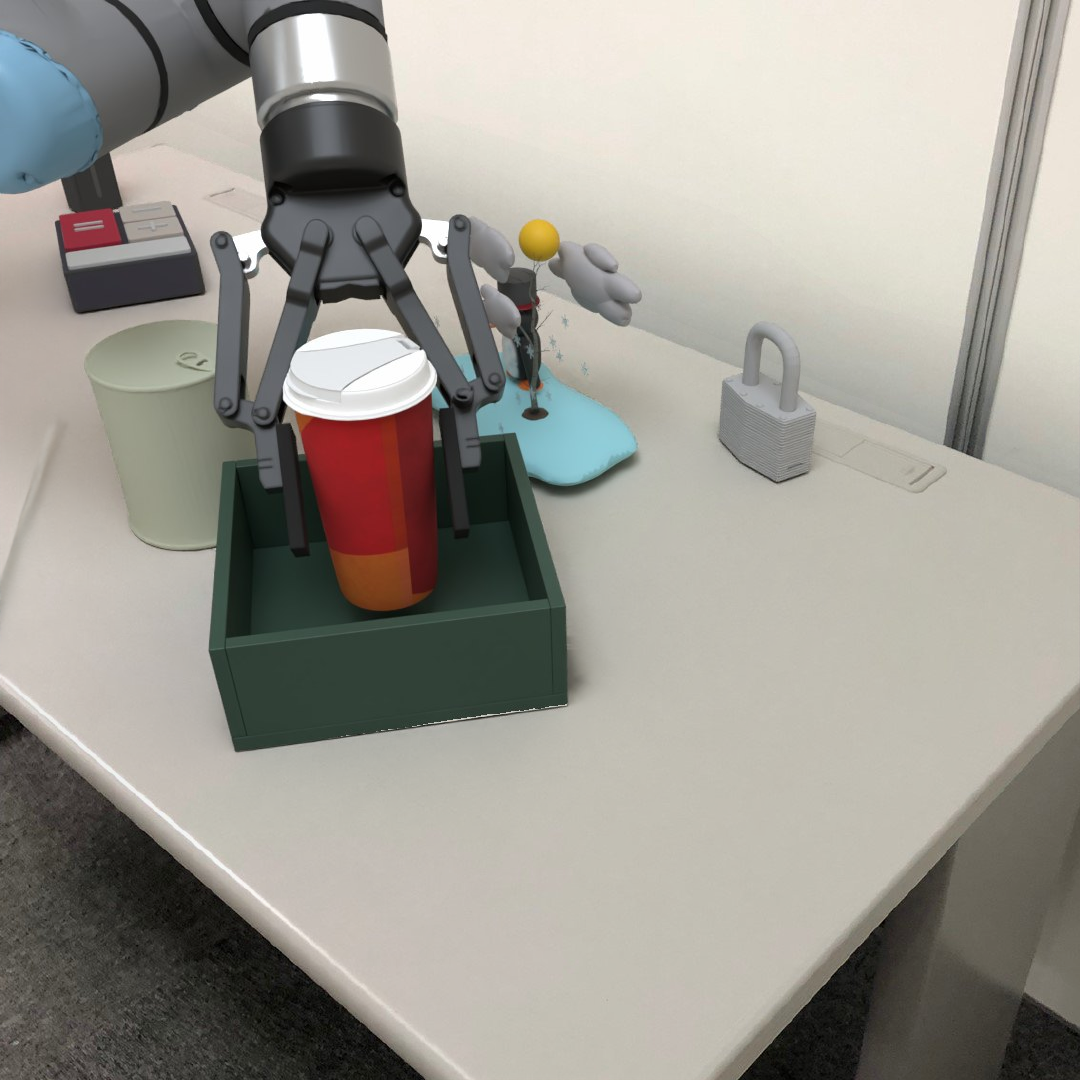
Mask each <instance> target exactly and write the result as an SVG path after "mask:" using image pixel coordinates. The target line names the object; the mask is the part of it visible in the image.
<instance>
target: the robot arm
mask: <svg viewBox="0 0 1080 1080" xmlns="http://www.w3.org/2000/svg"><path fill="white" fill-rule="evenodd" d="M388 38H389V37H388V34H387V33H386V25H385V16H384V8H383V0H0V195H19V194H25V193H28V192H32V191H35V190H37V189H40V188H43V187H46V186H47V185H49V184H52V183H55V182H57V181H59V180H61V178H68V177H70V176H71V175H73V174H75V173H77V172H83V171H84V170H86V169H87V168H89V167H90V166H91V165H92V164H93V163H94V162H95V161H96V160H97V159H98V158H100V157H102V156H103V155H105V154H107V153H109V152H110V153H111V152H112V151H114V150H116V149H118V148H120V147H121V146H123V145H125V144H127V143H128V142H130V141H133V140H135V139H136V138H138V137H140V136H143V135H145V134H146V133H148V132H150V131H153V130H154V129H157V128H158V127H160V126H162V125H164V124H166V123H168V122H170V121H171V120H173V119H177V118H178V117H179V116H182V115H183V114H185V113H187V112H192V111H193V110H194V109H196V108H197V107H198V106H199V105H200V104H203V103H204V102H206V101H209V100H210V99H213V98H214V97H216V96H218V95H220V94H222V93H224V92H226V91H228V90H230V89H232V88H233V87H235V86H238V85H239V84H241V83H243V82H245V81H246V80H248V79H250V78H251V82H252V91H253V99H254V106H255V113H256V114H255V115H256V122H257V125H258V127H259V129H260V131H261V132H260V135H259V146H260V153H261V154H260V156H261V163H262V173H263V179H264V188H265V198H266V208H267V209H266V213H265V216H264V218H263V221H262V222H261V225H260V229H258V230H254V231H251V232H250V231H249V232H247V233H243V234H239V235H236V236H232V235H231V234H230V233H229V232H227V231H225V230H218V231H216V232H214V233H213V234H212V235H211V236H210V238H209V246H210V248H211V251H212V255H213V258H214V261H215V263H216V266H217V269H218V272H219V289H218V308H217V309H218V311H217V324H218V326H217V345H216V364H215V383H214V402H213V404H214V409H215V411H216V413H217V414H218V416H219V417H220V419H221V421H222V422H223V424H224V425H225V426H227V427H229V428H241V429H245V430H248V431H251V432H252V433H253V434H254V436H255V444H256V453H257V461H258V470H259V479H260V481H261V483H262V485H263V487H264V488H265V490H266V492H267V493H268V495H269V494H278V493H283V494H284V502H285V511H286V519H287V528H288V536H289V545H290V550H291V551H292V553H293V554H294V556H295V557H296V558H297V557H306V556H310V551H309V542H308V534H307V526H306V517H305V509H304V500H303V492H302V484H301V475H300V467H299V458H298V454H299V449H298V443H297V442H298V441H297V436H296V434H295V431H294V429H293V426H292V423H291V422H286V423H284V418H285V415H286V412H287V409H288V407H289V406H288V405H287V404H286V403H285V402H284V400H283V385H284V381H285V378H286V377H287V373H288V372H289V369H290V367H291V366H290V363H291V360H292V358H293V356H294V354H295V352H296V351H297V350H298V349H299V348H300V347H302V346H303V345H304V344H306V343H308V342H309V341H308V340H309V337H310V334H311V331H312V329H313V324H314V323H315V322H316V320H317V317H318V314H319V311H320V307H321V304H323V305H326V304H327V305H329V304H337V303H339V302H343V301H346V300H350V299H356V300H361V301H376V300H382V299H383V301H384V303H385V305H386V307H387V308H388V310H389V311H390V313H391V314H392V316H394V317H395V318H396V321H397V322H398V324H399V325H400V327H401V329H402V330H403V332H404V334H405V337H406V338H409V339H410V340H411V341H413V342H414V343H415V344H417V345H418V346H419V347H420V348H419V350H424V351H425V353H426V356H427V359H428V360H429V361H430V362H431V364H432V365H433V367H434V368H435V370H436V374H437V382H436V387H437V388H438V390H439V392H440V393H441V395H442V397H443V398H444V400H445V402H446V404H447V405H448V407H449V408H439V411H438V427H439V432H440V440H441V443H442V450H443V458H444V465H445V473H446V480H447V488H448V496H449V503H450V511H451V518H452V526H453V533H454V539H462V538H468V536H469V531H470V525H469V518H468V510H467V503H466V495H465V488H464V480H463V474H468V473H477V472H478V471H479V467H480V463H481V458H482V455H481V447H480V440H479V432H478V425H477V418H476V413H477V411H478V410H479V409H480V408H482V407H484V406H486V405H488V404H490V403H496V402H499V401H500V400H501V399H502V396H503V393H504V389H505V384H506V376H505V373H504V369H503V366H502V363H501V360H500V356H499V353H500V352H499V349H498V347H497V343H496V340H495V337H494V333H493V330H492V328H491V326H490V323H489V320H488V317H487V313H486V310H485V307H484V303H483V300H484V299H483V297H482V295H481V292H480V287H479V284H478V281H477V277H476V274H475V270H474V266H473V264H472V261H471V260H470V257H469V250H470V236H471V222H470V220H469V219H468V218H469V217H467V216H466V215H465V214H461V213H459V214H455V215H452V216H451V218H450V219H449V220H447V221H445V220H439V219H437V220H436V219H429V218H422V217H421V214H420V212H419V211H418V210H417V208H416V207H415V206H414V204H413V202H412V200H411V197H410V194H409V193H410V192H409V186H408V185H409V184H408V177H407V170H406V161H405V155H404V147H403V139H402V133H401V130H400V127H399V126H398V125H397V123H398V121H399V110H398V102H397V101H398V100H397V95H396V86H395V78H394V71H393V63H392V55H391V50H390V48H389V47H390V46H389V43H388V42H389V41H388V40H389V39H388ZM420 244H424V245H425V246H427V247H428V248H429V249H430V251H431V256H432V258H433V259H434V261H435V262H436V263H438V264H441V265H446V267H445V269H446V271H445V273H446V280H447V284H448V288H449V291H450V294H451V298H452V301H453V305H454V308H455V312H456V314H457V317H458V322H459V324H460V328H461V331H462V334H463V337H464V341H465V344H466V347H467V348H466V349H467V350H468V354H470V358H471V361H472V364H473V368H474V371H475V374H476V379H474V380H472V381H470V382H468V381H467V379H466V377H465V376H464V374H463V372H462V370H461V369H460V367H459V365H458V364H457V362H456V360H455V359H454V355H453V354H452V352H451V350H450V348H449V346H448V344H446V342H445V340H444V338H443V336H442V335H441V333H440V332H439V329H438V327H437V325H436V324H435V322H434V321H433V319H432V318H431V316H430V314H429V312H428V311H427V309H426V308H425V306H424V304H423V302H422V301H421V299H420V297H419V296H418V294H417V292H416V291H415V289H414V286H413V283H412V281H411V279H410V277H409V275H408V274H407V272H406V270H405V269H406V268H407V266H408V264H409V263H410V260H411V259H412V257H413V256H414V254H415V252H416V250H417V249H418V247H419V246H420ZM266 255H269V256H270V257H271V258H272V260H273V261H274V262H275V263H276V264H277V265H278V266H279V267H280V268H281V269H282V270H283V271H284V272H285V273H286V274H287V275H288V276H289V277H290V278H289V282H288V284H287V288H286V295H285V301H284V304H283V308H282V311H281V313H280V317H279V321H278V324H277V327H276V330H275V334H274V337H273V340H272V344H271V346H270V348H269V349H270V350H269V353H268V356H267V360H266V363H265V365H264V369H263V372H262V375H261V379H260V382H259V384H258V388H257V391H256V394H255V398H254V401H251V400H250V401H248V400H246V381H247V377H248V361H249V357H248V356H249V337H250V320H251V319H250V318H251V290H250V285H249V280H252V279H255V278H256V277H257V275H258V274H259V271H260V262H261V260H262V258H263V257H264V256H266ZM381 298H382V299H381Z"/></svg>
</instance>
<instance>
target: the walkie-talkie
mask: <svg viewBox="0 0 1080 1080" xmlns="http://www.w3.org/2000/svg"><path fill="white" fill-rule="evenodd" d="M60 182H61V185H62V189H63V193H64V196H65V199H66V203H67V206H68V208H69V209H70V210H71V211H74V212H75V213H79V212H86V211H94V210H101V209H112V210H113V211H114V210H116V209H119V207H123V199H122V196H121V191H120V187H119V184H118V183H119V182H118V180H117V176H116V172H115V168H114V163H113V161H112V157H111V152H109V153H107V154H105V155H103V156H102V157H100V158H98V159H97V160H96V161H95V162H94V163H93V164H92V165H91V166H90V167H89V168H87V169H86V170H84V171H83V172H77V173H75V174H73V175H71V176H70V177H68V178H61V179H60Z"/></svg>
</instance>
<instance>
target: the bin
mask: <svg viewBox="0 0 1080 1080" xmlns="http://www.w3.org/2000/svg"><path fill="white" fill-rule="evenodd" d="M479 440H480V447H481V455H482V458H481V463H480V467H479V471H478V472H477V473H468V474H463V480H464V488H465V495H466V503H467V510H468V518H469V525H470V531H469V536H468V538H462V539H454V533H453V526H452V518H451V511H450V503H449V496H448V488H447V480H446V473H445V465H444V458H443V450H442V443H441V439H437V440H434V462H435V487H436V512H437V542H438V578H437V583H436V586H435V588H434V589H433V591H432V592H431V593H430V594H429V595H428V596H427V597H426V598H424V599H423V600H421V601H420V602H418V603H416V604H413V605H411V606H408V607H405V608H402V609H397V610H389V611H375V610H368V609H364V608H361V607H358V606H356V605H354V604H352V603H351V602H349V601H348V600H347V599H346V598H345V597H344V595H343V593H342V591H341V589H340V585H339V582H338V579H337V576H336V572H335V569H334V565H333V561H332V557H331V554H330V550H329V546H328V542H327V538H326V534H325V531H324V527H323V523H322V519H321V515H320V511H319V507H318V503H317V499H316V495H315V491H314V487H313V483H312V479H311V475H310V471H309V467H308V463H307V459H306V455H305V453H298V458H299V467H300V475H301V484H302V492H303V500H304V509H305V517H306V526H307V534H308V542H309V551H310V556H306V557H297V558H296V557H295V556H294V554H293V553H292V551H291V550H290V545H289V536H288V528H287V519H286V511H285V502H284V494H283V493H278V494H269V495H268V493H267V492H266V490H265V488H264V487H263V485H262V483H261V481H260V479H259V470H258V461H257V458H256V459H246V460H237V461H227V462H223V463H222V477H221V490H220V503H219V517H218V530H217V543H216V546H215V558H214V560H215V561H214V570H213V571H214V572H213V582H212V583H213V585H212V598H211V609H210V611H211V613H210V625H209V637H208V650H207V651H208V654H209V658H210V662H211V665H212V669H213V673H214V677H215V681H216V685H217V688H218V692H219V696H220V700H221V704H222V708H223V712H224V716H225V719H226V723H227V726H228V727H227V728H228V731H229V734H230V737H231V743H232V746H233V750H234V751H235V752H237V753H238V752H243V751H244V752H245V751H252V750H258V749H266V748H274V747H281V746H288V745H295V744H302V743H308V742H309V741H310V742H317V741H322V740H321V739H325V740H330V739H329V738H332V739H338V738H337V737H339V738H342V737H341V736H346V735H354V736H358V735H357V734H361V735H364V734H363V733H368V734H373V733H372V732H375V733H377V732H376V731H381V730H388V729H397V728H405V727H412V726H417V725H423V724H428V723H434V722H441V721H447V720H453V719H461V718H467V717H476V716H481V715H487V714H500V713H506V712H511V711H519V710H520V711H524V710H529V709H533V708H535V709H541V708H545V707H549V706H558V705H565V704H567V703H568V704H569V694H568V692H569V691H568V690H569V689H568V686H569V685H568V684H569V683H568V642H567V641H568V639H567V638H568V637H567V636H568V635H567V605H566V601H565V598H564V594H563V590H562V588H561V584H560V581H559V577H558V574H557V570H556V567H555V563H554V560H553V556H552V552H551V549H550V546H549V542H548V540H547V536H546V532H545V529H544V526H543V521H542V519H541V515H540V511H539V508H538V505H537V501H536V498H535V494H534V491H533V487H532V484H531V481H530V477H529V476H528V474H527V470H526V467H525V463H524V460H523V456H522V453H521V449H520V446H519V443H518V439H517V436H516V433H505V434H496V435H486V436H479ZM412 728H413V727H412ZM405 729H406V728H405ZM397 730H398V729H397ZM346 737H347V736H346ZM310 742H309V743H310Z"/></svg>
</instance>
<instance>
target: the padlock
mask: <svg viewBox="0 0 1080 1080" xmlns="http://www.w3.org/2000/svg"><path fill="white" fill-rule="evenodd" d="M765 339H767V340H769V341H771V342H772V343H773V344H774V345H775V346H776V347H777V349H778V350H779V352H780V354H781V357H782V379H781V380H782V381H780V380H777V379H775V378H773V377H771V376H770V375H768V374H766V373H763V372H762V371H760V368H761V357H762V350H763V349H762V347H763V344H764V340H765ZM800 355H801V354H800V351H799V348H798V345H797V343H796V341H795V339H794V337H793V336H792V335H791V334H789V332H788V331H787V330H786V329H784V328H783V327H782V326H781V325H779V324H777V323H775V322H771V321H766V320H761V321H758V322H757V323H754V324H753V325H752V326H751V327H750V329H749V331H748V333H747V336H746V341H745V347H744V357H743V358H744V359H743V368H742V369H743V372H741V373H737V374H734V375H731V376H728V377H724V378H723V379H722V381H721V395H720V409H719V424H718V436H717V437H718V439H719V440H720V442H722V443H723V444H724V446H725V447H727V449H729V451H730V452H731V453H732V454H733V455H734V457H735V458H736V459H737V460H738V461H739V462H741V463H742V464H744V465H745V466H748V467H750V468H751V469H753V470H755V471H757V472H758V473H760V474H762V475H764V476H765V477H767V478H769V479H771V480H772V481H773V482H776V483H779V482H782V481H784V480H788V479H791V478H793V477H796V476H799V475H801V474H804V473H807V472H809V471H810V468H811V467H810V466H811V460H812V459H811V458H812V452H813V446H814V443H813V442H814V437H815V428H816V427H815V426H816V422H817V410H816V409H815V408H814V407H813V406H812V405H811V404H810V403H809V402H808V401H806V400H805V398H803V397H802V396H801V395H800V394H799V385H800V376H801V356H800Z"/></svg>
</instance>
